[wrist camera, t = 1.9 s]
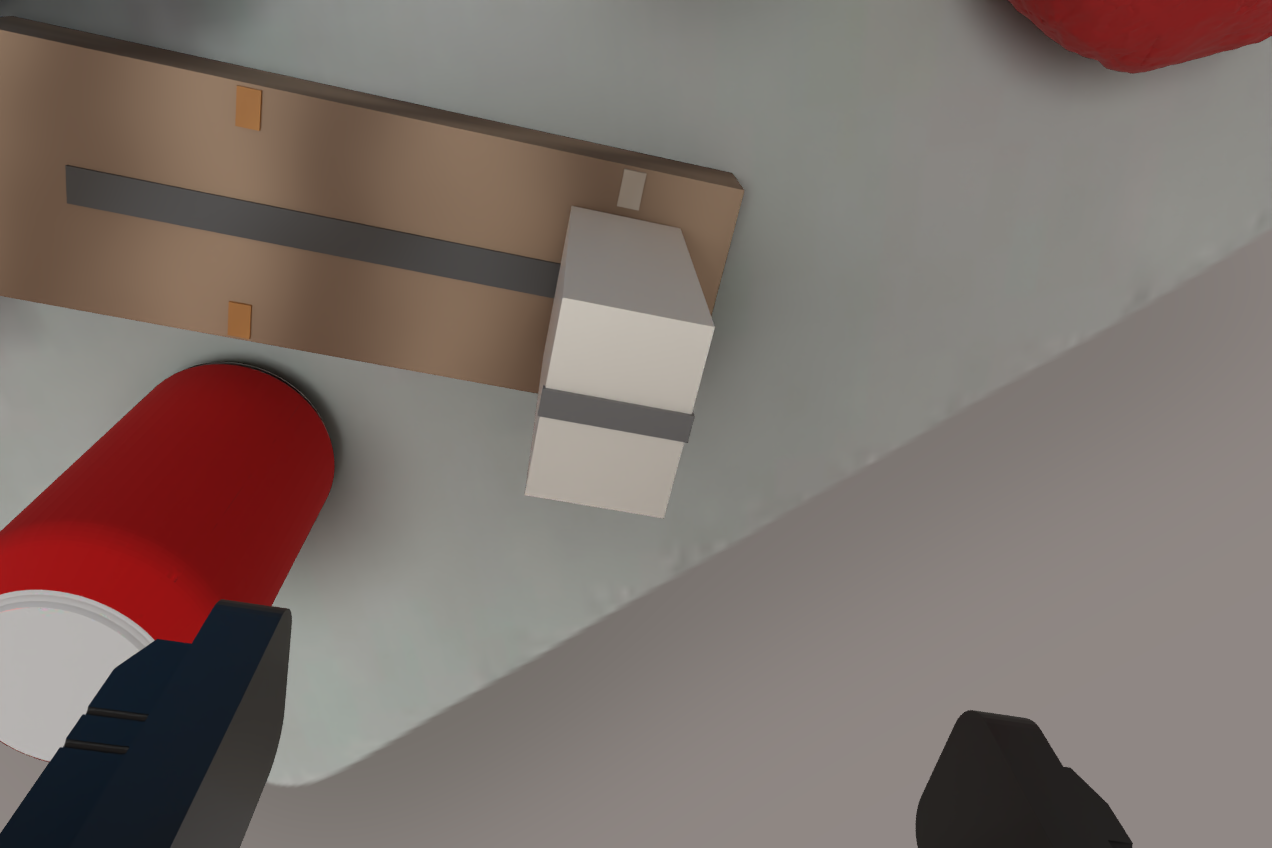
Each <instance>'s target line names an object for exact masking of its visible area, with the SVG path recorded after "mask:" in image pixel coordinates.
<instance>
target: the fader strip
mask: <svg viewBox="0 0 1272 848" xmlns="http://www.w3.org/2000/svg"><path fill="white" fill-rule="evenodd" d="M743 194H744V189H743V188H742V186H741V185H740V183H739V182H738V181H737V179H736V178H735V176H734V175H733V174H732V173H729V172H725V171H720V170H716V169H711V168H706V167H702V166H697V165H693V164H688V163H683V162H679V161H674V160H670V159H665V158H661V157H656V156H651V155H647V154H642V153H638V152H633V151H628V150H624V149H619V148H615V147H610V146H605V145H601V144H596V143H592V142H587V141H583V140H578V139H573V138H569V137H564V136H560V135H555V134H550V133H546V132H541V131H537V130H532V129H527V128H523V127H518V126H514V125H509V124H505V123H500V122H495V121H491V120H486V119H482V118H477V117H472V116H468V115H463V114H459V113H454V112H449V111H445V110H440V109H436V108H431V107H427V106H422V105H417V104H413V103H408V102H404V101H399V100H394V99H390V98H385V97H381V96H376V95H372V94H367V93H362V92H358V91H353V90H349V89H344V88H339V87H335V86H330V85H326V84H321V83H316V82H312V81H307V80H303V79H298V78H294V77H289V76H284V75H280V74H275V73H271V72H266V71H261V70H257V69H252V68H248V67H243V66H238V65H234V64H229V63H225V62H220V61H216V60H211V59H206V58H202V57H197V56H193V55H188V54H183V53H179V52H174V51H170V50H165V49H160V48H156V47H151V46H147V45H142V44H138V43H133V42H128V41H124V40H119V39H115V38H110V37H105V36H101V35H96V34H92V33H87V32H82V31H78V30H73V29H69V28H64V27H60V26H55V25H50V24H46V23H41V22H37V21H32V20H27V19H23V18H18V17H14V16H7V17H0V296H4V297H10V298H15V299H21V300H26V301H32V302H37V303H43V304H48V305H54V306H59V307H65V308H70V309H76V310H81V311H87V312H92V313H98V314H103V315H109V316H114V317H120V318H125V319H131V320H136V321H142V322H147V323H153V324H158V325H164V326H169V327H175V328H180V329H186V330H191V331H197V332H202V333H208V334H213V335H219V336H224V337H230V338H235V339H241V340H246V341H252V342H257V343H263V344H268V345H274V346H279V347H285V348H290V349H296V350H301V351H307V352H312V353H318V354H323V355H329V356H334V357H340V358H345V359H351V360H356V361H362V362H367V363H373V364H378V365H384V366H389V367H395V368H400V369H406V370H411V371H417V372H422V373H428V374H433V375H439V376H444V377H450V378H455V379H461V380H466V381H472V382H477V383H483V384H488V385H494V386H499V387H505V388H510V389H516V390H521V391H527V392H532V393H538V392H539V384H540V377H541V369H542V362H543V355H544V350H545V344H546V339H547V334H548V328H549V323H550V318H551V313H552V307H553V302H554V297H555V291H556V286H557V281H558V275H559V270H560V265H561V260H562V254H563V249H564V244H565V238H566V233H567V228H568V222H569V217H570V212H571V206H575V207H580V208H585V209H589V210H594V211H599V212H604V213H609V214H613V215H618V216H623V217H628V218H633V219H637V220H642V221H647V222H652V223H657V224H661V225H666V226H671V227H676V228H680V229H681V231H682V234H683V237H684V240H685V243H686V246H687V249H688V251H689V254H690V257H691V260H692V263H693V266H694V269H695V272H696V274H697V277H698V280H699V283H700V286H701V289H702V292H703V294H704V297H705V300H706V303H707V306H708V309H709V312H710V315H712V312H713V308H714V304H715V300H716V297H717V293H718V289H719V285H720V281H721V278H722V274H723V270H724V266H725V262H726V259H727V255H728V251H729V247H730V243H731V240H732V236H733V232H734V228H735V225H736V221H737V217H738V213H739V209H740V206H741V202H742V198H743Z"/></svg>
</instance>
